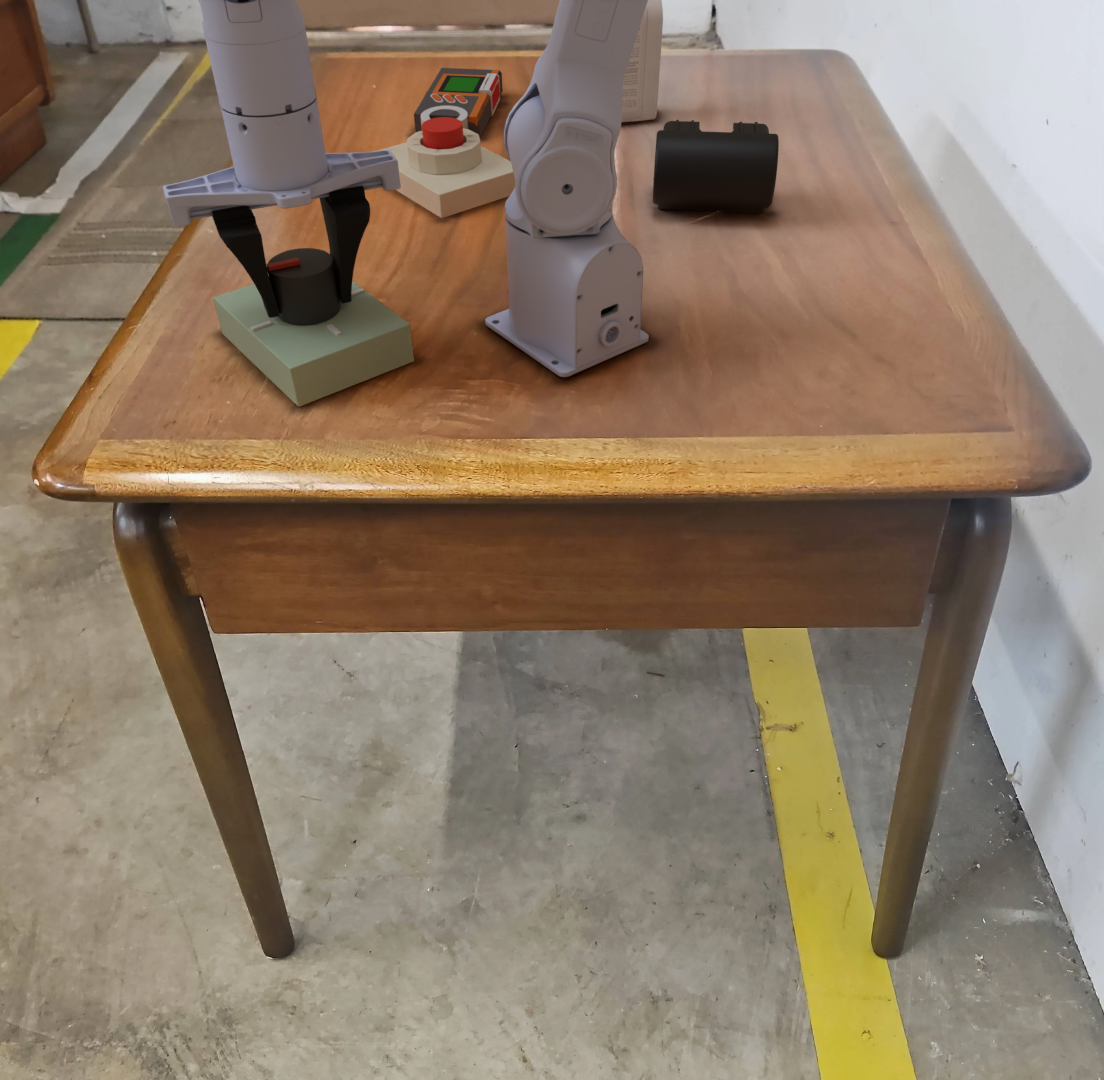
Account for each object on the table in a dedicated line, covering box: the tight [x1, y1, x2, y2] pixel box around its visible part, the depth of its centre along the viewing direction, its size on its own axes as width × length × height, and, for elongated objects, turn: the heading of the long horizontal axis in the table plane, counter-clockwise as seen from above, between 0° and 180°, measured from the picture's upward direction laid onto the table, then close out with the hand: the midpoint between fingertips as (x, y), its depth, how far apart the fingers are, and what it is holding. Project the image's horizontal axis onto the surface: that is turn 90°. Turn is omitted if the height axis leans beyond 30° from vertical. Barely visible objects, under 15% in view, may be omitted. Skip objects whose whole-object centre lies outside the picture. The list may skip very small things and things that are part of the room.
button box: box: [376, 129, 515, 219], centre depth 92 cm, size 12×9×4 cm
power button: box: [422, 117, 464, 150], centre depth 91 cm, size 4×4×2 cm
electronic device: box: [413, 67, 504, 139], centre depth 105 cm, size 7×3×15 cm
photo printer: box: [621, 0, 664, 123], centre depth 101 cm, size 10×4×12 cm, turn 103°
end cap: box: [652, 119, 780, 214], centre depth 87 cm, size 10×7×7 cm
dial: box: [266, 247, 341, 325], centre depth 69 cm, size 4×4×4 cm
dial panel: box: [212, 280, 415, 407], centre depth 72 cm, size 12×9×3 cm
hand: (307, 303), depth 70 cm, fingers closed on dial, 4 cm apart
